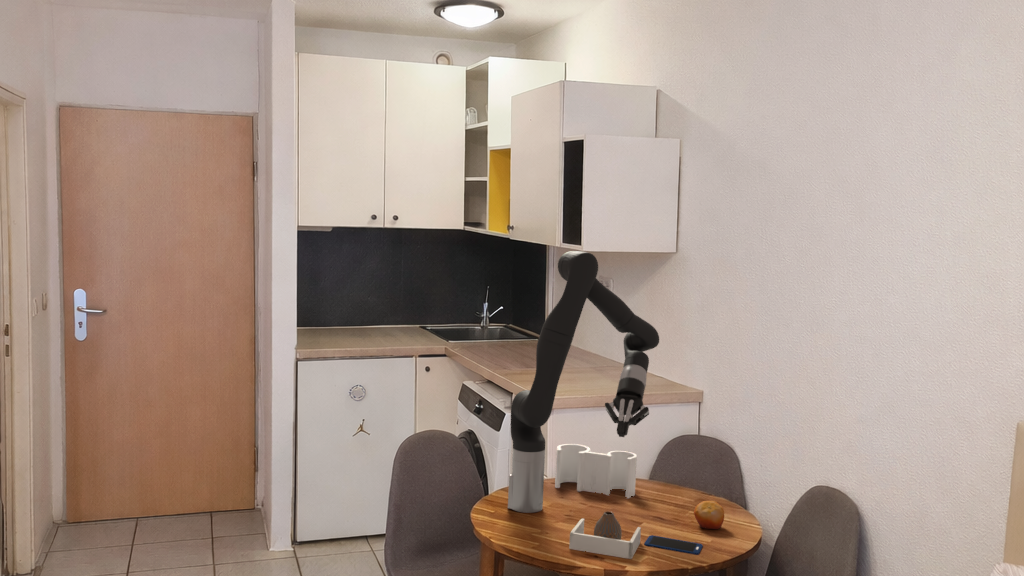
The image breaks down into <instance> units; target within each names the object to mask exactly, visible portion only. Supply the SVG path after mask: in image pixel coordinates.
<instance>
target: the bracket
mask: <svg viewBox="0 0 1024 576" xmlns="http://www.w3.org/2000/svg"><path fill="white" fill-rule="evenodd" d="M555 453H556V454H555V456H556V457H555V473H554V474H555V478H554V479H555V480H554V488H556V489H560V488H561V484H562V483H576V491H577V492H589V493H595V492H596V494H601V493H603V495H606V496H610V495H611V491H613V490H612V489H624V490H623V491H625V490H626V491H625V494H624V495H625V497H627V498H626V499H630V498H632V497H631V496H633V497H634V496H636V483H637V482H636V479H637V476H636V475H637V461H638V459H637V458H638V456H637V453H634V452H631V451H625V450H611V451H608V452H607V453H601V452H594V451H591V448H590V447H589V446H588V445H584V444H577V443H565V444H564V443H563V444H559V445H557V446H556V452H555ZM610 490H611V491H610ZM609 494H610V495H609Z"/></svg>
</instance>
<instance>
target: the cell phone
mask: <svg viewBox="0 0 1024 576" xmlns="http://www.w3.org/2000/svg"><path fill="white" fill-rule="evenodd" d="M643 545H644V546H646V547H650V548H658V549H662V550H668V551H673V552H679V553H684V554H688V555H689V554H690V555H696V556H697V555H698V556H699V555H700V554H701V552H702V549H703V544H702V543H697V542H692V541H687V540H682V539H675V538H670V537H665V536H664V537H663V536H661V535H660V536H659V535H653V534H651V535H649V536H648V537H647V538H646V540H645V542H644V543H643Z"/></svg>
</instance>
